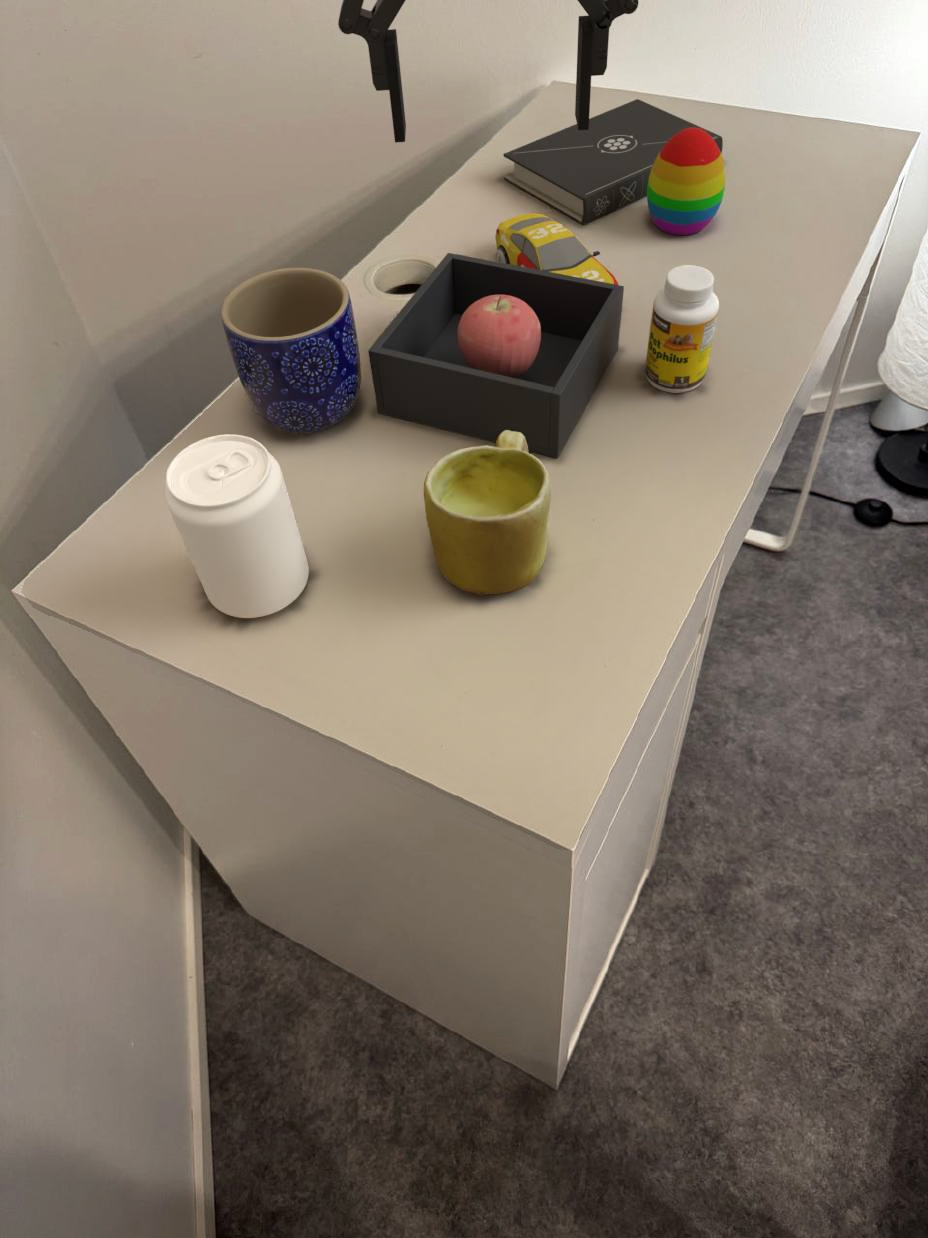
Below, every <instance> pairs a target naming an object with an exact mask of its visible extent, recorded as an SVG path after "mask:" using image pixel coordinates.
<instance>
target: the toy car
mask: <svg viewBox="0 0 928 1238" xmlns="http://www.w3.org/2000/svg"><path fill="white" fill-rule="evenodd" d="M495 243H496V262H500V263H505V264H511V265H516V266H521V267H526V268H532V269H537V270H542V271H548V272H553V273H558V274H563V275H569V276H574V277H579V278H584V279H590V280H595V281H600V282H605V283H611V284H615V285H619V283H618V281H617V279H616V277H615V276H614V274H613V273H612V272H611V271H610V270H608V269H607V268H606V267H605V266H604V265H603V264H602V263H601V262H600V261H599V260H598V259H596V258H595V257H597V256H599V255H601V252H600V251H599V250H596V251H593V252H592V253H591V252H590V251H589V249H587V247H586V246H585V245H584V243H582V241H580V240H579V239H578V238H577V236H576V235H575V234H574V233H573V232H571V231H570V230H569V228H567V227H566V226H564V225H563V224H562V223H560V222H559V221H556V220H554V219H551V218H550V217H549V216H547V215H546V214H544V213H540V212H531V213H524V214H520V215H519V214H518V215H515V216H513V217H510V218H508V219H506V220H504V221H502V222H500V223H499V225H498V226H497V228H496V230H495Z"/></svg>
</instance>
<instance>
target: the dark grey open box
mask: <svg viewBox="0 0 928 1238" xmlns="http://www.w3.org/2000/svg"><path fill="white" fill-rule="evenodd" d="M624 290H625V286H624V285H619V284H618V285H615V284H611V283H605V282H600V281H595V280H590V279H584V278H579V277H574V276H569V275H563V274H558V273H553V272H548V271H542V270H537V269H532V268H526V267H521V266H516V265H511V264H505V263H500V262H497V261H494V260H491V259H490V260H489V259H484V258H478V257H475V256H474V257H473V256H469V255H462V254H458V253H450V252H447V254H446V255H445V256H444V257H443V259H442V260H441V261H440V262H439V263H438V264H437V266H436V267H435V268H434V269H433V271H432V272H431V273H430V274H429V276H428V277H426V278H425V280H424V282H422V284H421V285H420V286H419V287H418V289H417V290H416V291H415V292H414V294H413V295H412V296H411V297H410V299H409V300H407V302H406V303H405V304H404V306H403V307H402V308H401V310H399V312H398V313H397V314H396V316H395V317H394V318H393V319H392V320H391V321H390V323H389V324H388V325H387V326H386V327H385V329H384V330H383V332H381V334H380V335H379V336H378V338H377V339H376V340H375V341H374V342H373V343H372V344H371V346H370V347H369V348H368V350H367V354H368V361H369V366H370V367H369V368H370V372H371V379H372V386H373V390H374V397H375V402H376V403H375V404H376V410H377V413H378V414H380V415H385V416H389V417H392V418H396V419H400V420H404V421H408V422H413V423H416V424H420V425H423V426H429V427H431V428H432V427H433V428H436V429H440V430H443V431H447V432H452V433H456V434H460V435H464V436H467V437H470V438H471V437H472V438H475V439H479V440H482V441H487V442H491V443H495V444H496V440H497V439H498V437H499V435H500V434H501V433H502V432H503V431H505V430H509V431H515V432H520V433H522V434H523V435H524V436H525V439H526V442H527V445H528V452H530V453H535V454H538V455H542V456H546V457H550V458H555V459H559V457H560V455H561V454H562V451H563V450H564V448H565V446H566V445H567V443H568V440H569V439H570V437H571V435H572V434H573V432H574V430H575V429H576V427H577V425H578V423H579V421H580V419H581V417H582V416H583V413H584V412H585V410H586V408H587V406H588V404H589V402H590V401H591V399H592V397H593V396H594V394H595V392H596V390H597V388H598V387H599V384H600V383H601V381H602V379H603V377H604V376H605V374H606V372H607V370H608V369H609V367H610V365H611V363H612V361H613V359H614V358H615V356H616V354H617V352H618V350H619V343H620V332H621V321H622V311H623V301H624V292H625V291H624ZM491 295H509V296H513V297H516V298H518V299H520V300H522V301H524V302H525V303H526V304H528V305H529V306H530V307H531V308H532V310H533V311H534V312H535V314H536V316H537V318H538V320H539V322H540V326H541V341H540V346H539V350H538V353H537V355H536V358H535V360H534V362H533V363H532V365H531V366H530V368H529V369H528V370H527V371H526V372H525V373H524V374H522V375H521V376H520V377H518V378H511V377H507V376H503V375H498V374H494V373H490V372H485V371H481V370H477V369H472V368H470V367H469V366H468V365H467V363H466V362H465V360H464V358H463V356H462V354H461V352H460V349H459V346H458V334H457V333H458V325H459V322H460V320H461V317H462V315H463V313H464V312H465V311H466V310H467V308H468V307H469V306H470V305H472V304H473V303H474V302H476V301H478V300H480V299H482V298H484V297H487V296H491Z"/></svg>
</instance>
